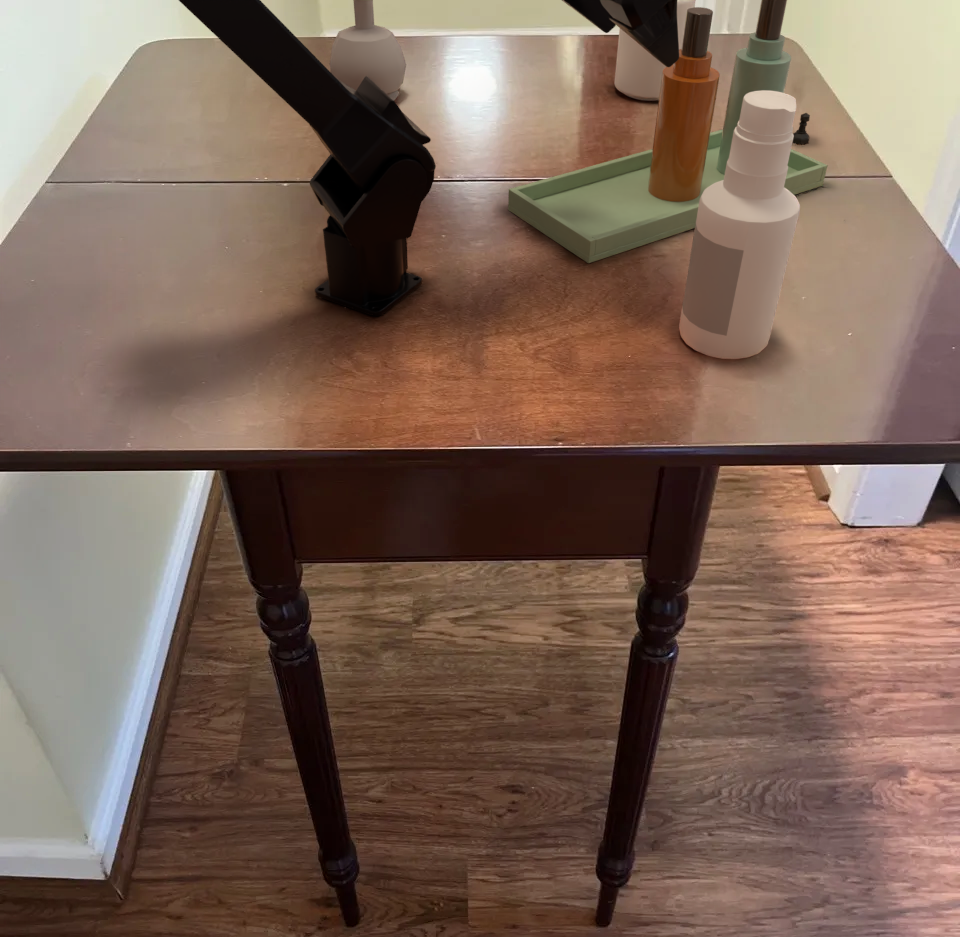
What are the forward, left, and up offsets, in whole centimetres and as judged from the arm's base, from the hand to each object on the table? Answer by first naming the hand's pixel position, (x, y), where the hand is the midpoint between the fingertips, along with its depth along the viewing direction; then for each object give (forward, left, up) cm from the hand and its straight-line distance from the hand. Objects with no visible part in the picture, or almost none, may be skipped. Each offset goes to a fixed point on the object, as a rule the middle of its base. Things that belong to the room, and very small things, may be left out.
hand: (640, 45), depth 75 cm
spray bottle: (-11, -14, -17) cm, 24 cm away
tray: (+10, -1, -16) cm, 19 cm away
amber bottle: (+10, -1, -16) cm, 19 cm away
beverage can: (+35, +13, -17) cm, 41 cm away
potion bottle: (+16, +40, -17) cm, 46 cm away
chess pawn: (+30, -7, -17) cm, 35 cm away
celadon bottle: (+18, -5, -16) cm, 25 cm away
